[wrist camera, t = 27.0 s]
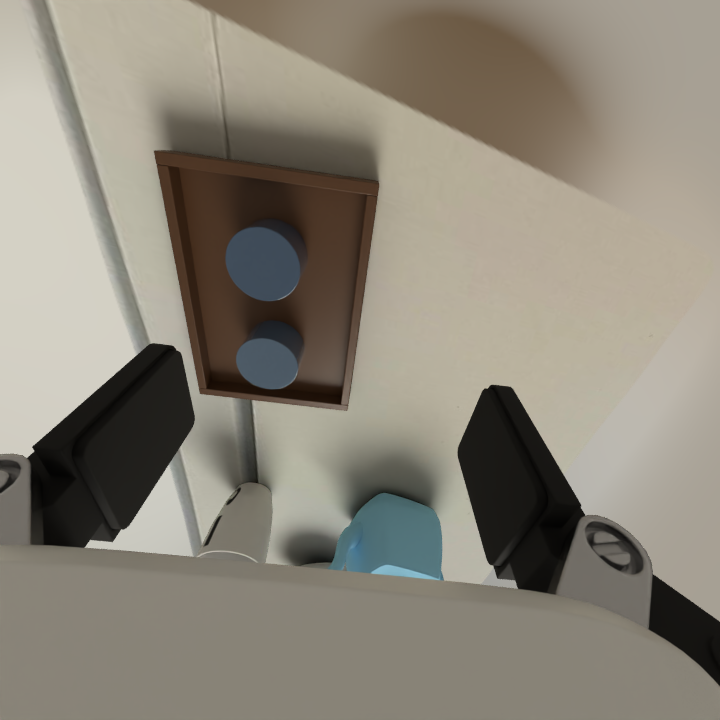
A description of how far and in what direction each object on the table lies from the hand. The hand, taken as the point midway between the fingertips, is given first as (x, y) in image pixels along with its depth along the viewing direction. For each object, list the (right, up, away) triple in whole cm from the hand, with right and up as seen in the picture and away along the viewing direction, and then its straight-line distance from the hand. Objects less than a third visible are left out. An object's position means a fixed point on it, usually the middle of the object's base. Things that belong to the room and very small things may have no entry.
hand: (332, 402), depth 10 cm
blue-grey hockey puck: (-6, +10, +17) cm, 21 cm away
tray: (-7, +7, +20) cm, 22 cm away
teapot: (+4, -21, +38) cm, 44 cm away
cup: (-14, -18, +37) cm, 43 cm away
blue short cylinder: (-7, +3, +22) cm, 23 cm away
